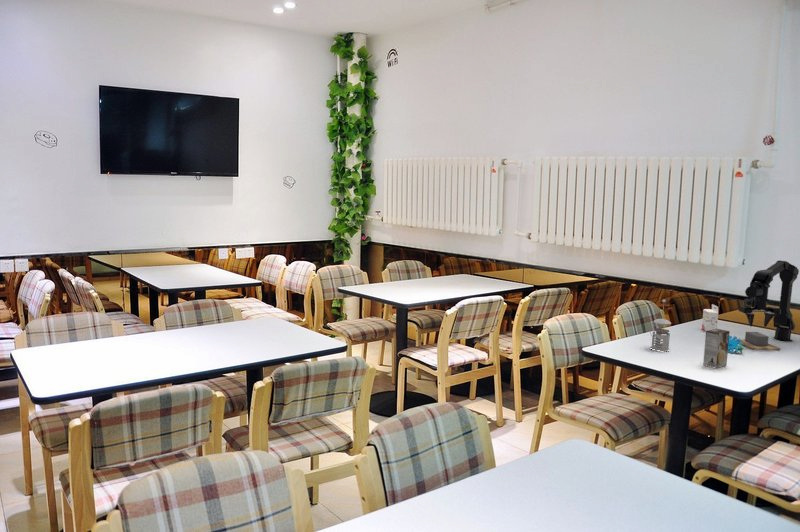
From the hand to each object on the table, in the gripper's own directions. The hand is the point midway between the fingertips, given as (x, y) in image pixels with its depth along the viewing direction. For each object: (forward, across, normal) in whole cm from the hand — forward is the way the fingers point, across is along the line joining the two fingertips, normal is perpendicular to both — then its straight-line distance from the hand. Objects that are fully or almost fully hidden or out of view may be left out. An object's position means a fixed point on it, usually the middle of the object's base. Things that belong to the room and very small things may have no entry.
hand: (757, 326), depth 332 cm
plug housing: (+9, 0, 0) cm, 9 cm away
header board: (+10, 0, 0) cm, 10 cm away
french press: (+10, +55, +10) cm, 57 cm away
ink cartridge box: (+10, +9, -30) cm, 33 cm away
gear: (+10, +20, +14) cm, 26 cm away
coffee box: (+10, +41, +37) cm, 56 cm away
